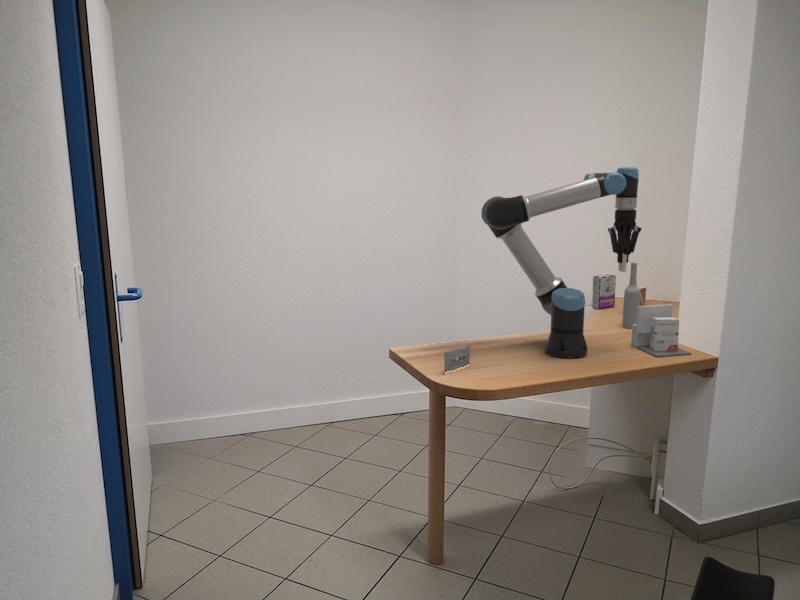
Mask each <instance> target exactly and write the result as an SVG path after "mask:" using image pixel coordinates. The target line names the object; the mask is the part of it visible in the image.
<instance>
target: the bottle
mask: <svg viewBox="0 0 800 600" xmlns="http://www.w3.org/2000/svg"><path fill="white" fill-rule="evenodd" d="M637 269H638V263H637V262H630V277H629V284H628V286H627V287H626V288H625V289H624V294H623V308H622V309H623V310H622V322H621V323H622V324H621V327H622V328H623V329H630V330H632V324H636V318H637V306H640V289H639V288H638V287H637V286H638V285H637V275H638V274H637V273H638V270H637Z"/></svg>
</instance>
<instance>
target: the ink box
mask: <svg viewBox="0 0 800 600" xmlns="http://www.w3.org/2000/svg"><path fill="white" fill-rule="evenodd" d="M679 329H680V319H678V318H676V317H660V318H652V321H651V341H650V348H651V349H653V350H654V351H677V350H678V348H679V335H680V334H679V332H680V330H679Z"/></svg>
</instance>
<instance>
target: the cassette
mask: <svg viewBox="0 0 800 600" xmlns="http://www.w3.org/2000/svg"><path fill="white" fill-rule="evenodd" d="M470 348H471V347H470V345H468V344H467V345H463V346H461V347H457V348H453V349H449V350H446V351H444V353H443V355H444V356H443V358H444V359H443V360H444V364H443V365H444V368H443V370H444V371H445V372H447V371H450V370H451V371H452V370H455V369H457V368H460V367H464V366H466V365H468V364H470V362H471V361H470V358H471V357H470V355H471V354H470V352H471V350H470ZM457 358H458V359H457Z"/></svg>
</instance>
